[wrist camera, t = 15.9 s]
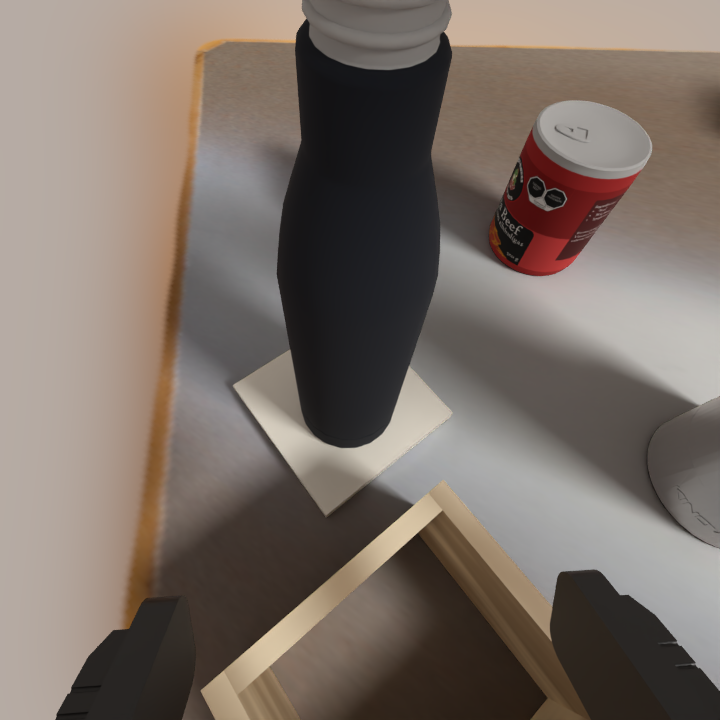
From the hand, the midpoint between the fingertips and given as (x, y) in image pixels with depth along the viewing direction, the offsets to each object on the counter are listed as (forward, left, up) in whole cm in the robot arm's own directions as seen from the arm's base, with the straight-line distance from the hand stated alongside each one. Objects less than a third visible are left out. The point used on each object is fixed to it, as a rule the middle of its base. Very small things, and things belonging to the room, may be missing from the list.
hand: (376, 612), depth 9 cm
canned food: (-30, -12, -18) cm, 37 cm away
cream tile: (-7, -10, -18) cm, 22 cm away
